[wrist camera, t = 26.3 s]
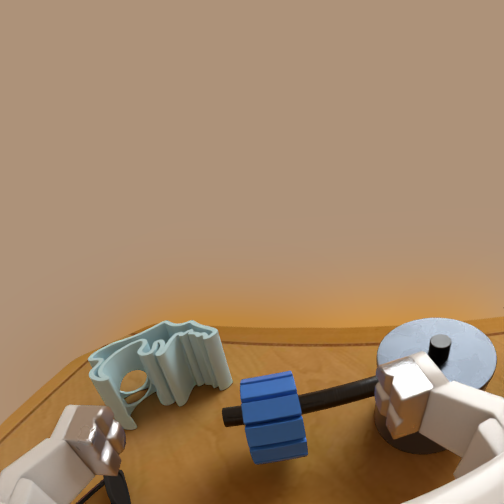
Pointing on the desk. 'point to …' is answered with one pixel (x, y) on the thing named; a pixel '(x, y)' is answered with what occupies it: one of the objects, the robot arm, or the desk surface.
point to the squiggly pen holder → (160, 365)
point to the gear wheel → (273, 418)
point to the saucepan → (402, 345)
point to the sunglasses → (111, 489)
